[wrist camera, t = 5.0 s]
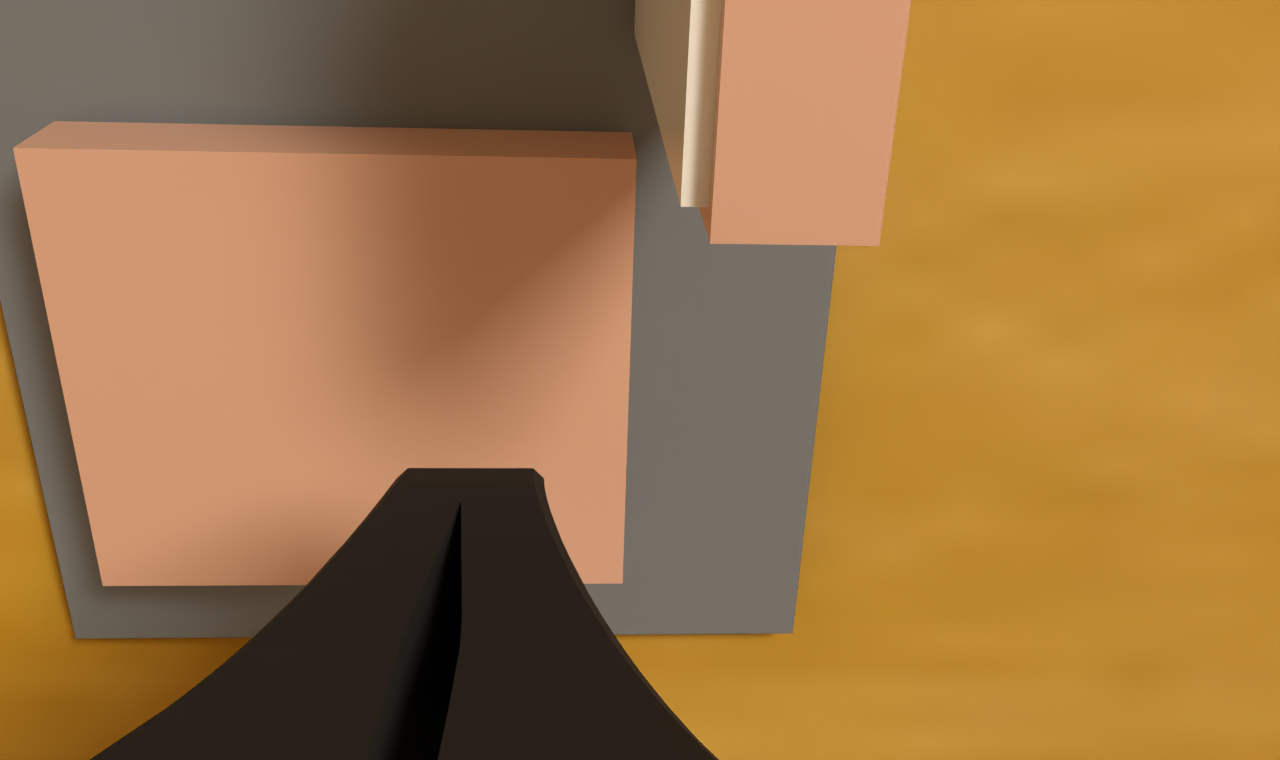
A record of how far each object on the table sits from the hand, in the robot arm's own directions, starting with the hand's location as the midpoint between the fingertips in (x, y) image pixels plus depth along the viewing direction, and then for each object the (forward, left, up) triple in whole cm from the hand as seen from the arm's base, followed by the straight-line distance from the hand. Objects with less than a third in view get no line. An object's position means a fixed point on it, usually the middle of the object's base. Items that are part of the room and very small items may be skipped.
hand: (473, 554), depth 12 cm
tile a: (0, -2, -4) cm, 5 cm away
